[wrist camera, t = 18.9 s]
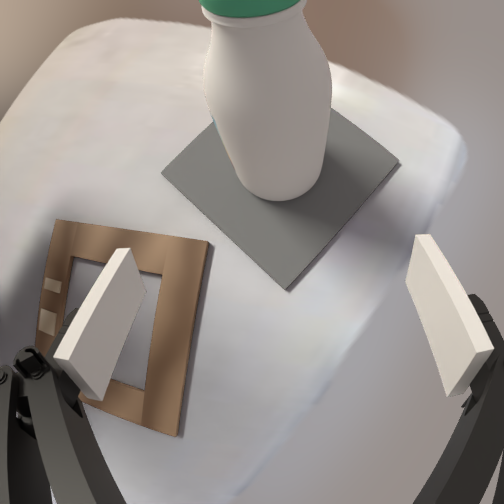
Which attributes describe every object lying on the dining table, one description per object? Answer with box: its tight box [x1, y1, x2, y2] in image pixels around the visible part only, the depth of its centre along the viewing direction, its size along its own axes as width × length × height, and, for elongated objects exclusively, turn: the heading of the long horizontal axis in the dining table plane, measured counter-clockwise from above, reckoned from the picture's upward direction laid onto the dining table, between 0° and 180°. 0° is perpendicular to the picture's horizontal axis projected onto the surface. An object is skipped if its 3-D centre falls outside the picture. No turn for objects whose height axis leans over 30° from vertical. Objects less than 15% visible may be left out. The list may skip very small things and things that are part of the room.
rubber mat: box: [161, 108, 399, 290], centre depth 28 cm, size 16×16×1 cm
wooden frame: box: [35, 219, 209, 437], centre depth 28 cm, size 18×18×1 cm
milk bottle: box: [199, 0, 332, 201], centre depth 18 cm, size 8×8×20 cm
